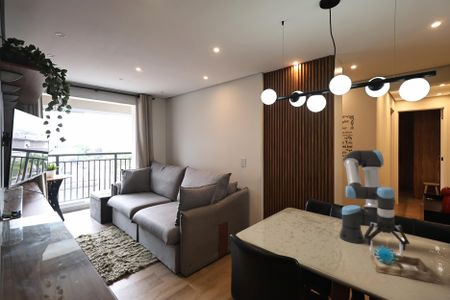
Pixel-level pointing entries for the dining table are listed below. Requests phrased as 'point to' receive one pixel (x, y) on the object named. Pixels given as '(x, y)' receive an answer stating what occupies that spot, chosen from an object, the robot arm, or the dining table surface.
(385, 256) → the gear
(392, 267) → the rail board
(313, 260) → the dining table surface
